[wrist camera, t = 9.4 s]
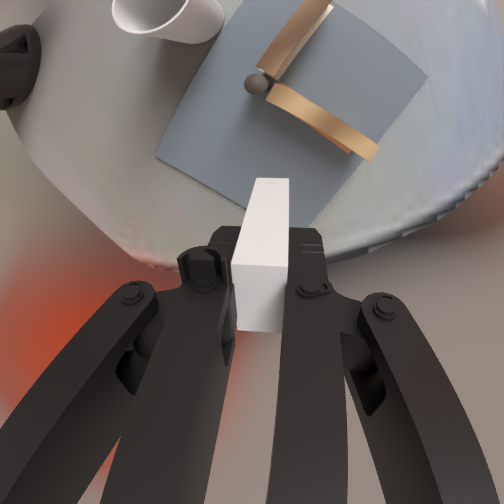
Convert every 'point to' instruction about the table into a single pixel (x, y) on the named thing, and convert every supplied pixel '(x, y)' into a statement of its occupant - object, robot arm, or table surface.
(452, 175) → the table surface
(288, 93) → the wooden board
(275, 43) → the base
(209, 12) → the mug
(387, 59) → the card
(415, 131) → the table surface
